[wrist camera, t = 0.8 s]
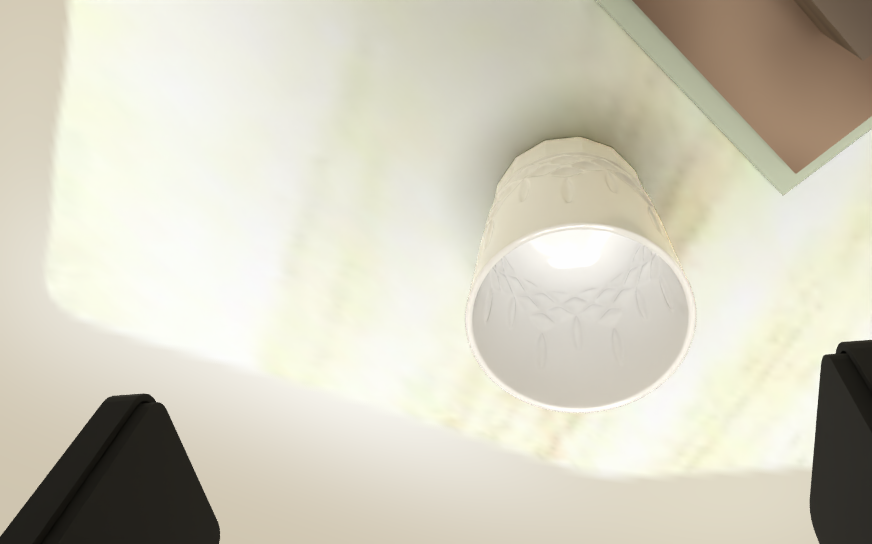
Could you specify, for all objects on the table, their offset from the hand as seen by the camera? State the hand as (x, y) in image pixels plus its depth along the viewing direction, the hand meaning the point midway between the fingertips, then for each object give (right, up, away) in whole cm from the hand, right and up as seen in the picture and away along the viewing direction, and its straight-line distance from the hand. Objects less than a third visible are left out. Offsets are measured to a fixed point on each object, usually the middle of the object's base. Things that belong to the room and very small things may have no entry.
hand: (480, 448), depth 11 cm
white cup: (+5, +6, +24) cm, 25 cm away
